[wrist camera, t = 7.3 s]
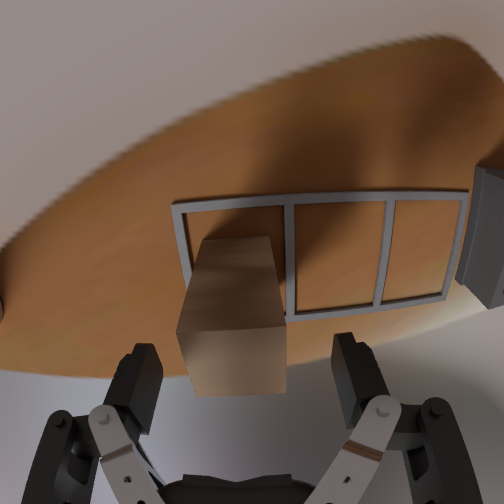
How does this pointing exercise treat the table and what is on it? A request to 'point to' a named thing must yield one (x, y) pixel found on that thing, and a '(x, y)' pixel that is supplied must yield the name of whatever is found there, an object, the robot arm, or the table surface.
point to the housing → (485, 239)
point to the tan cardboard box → (234, 320)
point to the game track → (288, 203)
